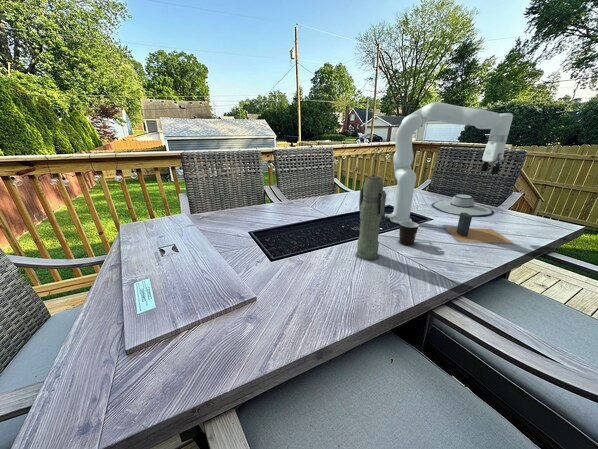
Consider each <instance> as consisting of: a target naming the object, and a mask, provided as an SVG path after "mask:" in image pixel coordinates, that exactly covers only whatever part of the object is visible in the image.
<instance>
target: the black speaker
mask: <svg viewBox="0 0 598 449" xmlns="http://www.w3.org/2000/svg"><path fill="white" fill-rule="evenodd" d="M472 218H473V216H471V215H469V214H468V213H460V215H459V217H458V222H457V227H456V228H457V231H456V232H457V233H458V234H459V235H461V236H468V232H469V228H471V223H472Z"/></svg>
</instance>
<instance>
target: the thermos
mask: <svg viewBox="0 0 598 449" xmlns="http://www.w3.org/2000/svg"><path fill="white" fill-rule="evenodd" d="M386 201H387V192H386V190H384V182H383V178H382V177H380V176H376V175H372V176H367V177H366V178H365V180H364V183H363V186H361V188H360V189H359V202H358V207H359V208H358V209H359V219H360V223H359V224H360V225H359V236H358V239H357V246H356V247H357V248H356V251H357V252H356V254H357V257H358V258H360V259H362V260H366V261H370V260H371V261H373V260H375V259H377V257H378V253H379V246H380V243H379V233H380V223H381V221H382V218H383V217H382V216H384V215H385V208H386Z"/></svg>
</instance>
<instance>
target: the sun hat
mask: <svg viewBox="0 0 598 449" xmlns="http://www.w3.org/2000/svg"><path fill="white" fill-rule="evenodd" d="M431 206H432V207H433V208H435V209H436V210H438V211H440V212H443V213H445V214H450V215H454V216H460V213H468V214H469V215H471V216H472V217H483V216H490V215H493V214H494V210H493V209H491V208H489V207H486V206H483V205H481V204H478V203H477V202H476V203H475V199H474V197H473V196H472V195H469V194H461V193H460V194H458V193H457V194H455V195H453V197H452V199H443V200H437V201H434V202H433V203H432V204H431Z"/></svg>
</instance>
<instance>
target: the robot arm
mask: <svg viewBox="0 0 598 449" xmlns="http://www.w3.org/2000/svg"><path fill="white" fill-rule="evenodd" d="M513 119H514V114H513V113H511V112H504V113H502V112H501V113H498V112H495V111H491V110H486V109H480V108H474V107H467V106H462V105H461V106H460V105H455V104H451V103H450V104H449V103H447V102H446V103H445V102H440V101H433V102H429V103H427V104H425V105H424V106H423V107H422V106H421V107H420V108H419V109H417V110H415V111H413V112H412V113H411V114H408V115H406V116H405V117H404V118H403V119H402V121H401V123H400V125H399V127H398V128H397V131H396V133H395V138H394V139H395V140H394V141H395V142H394V143H395V152H394V154H393V158H392V159H393V170H394V177H395V179H396V181H397V182H396V183H397V184H396V189H395V194H394V195H395V196H394V202H393V204H394V205H393V211H392V212H391V213H384V217H385V218H387V219H389V221H390V222H391V223H394V224H398V225H400V222H402V221H411V222H413V219H412V218H411V212H412V211H411V210H412V204H413V196H414V191H415V187H416V183H417V174H416V172H415V171H414V170H413V169H412V163H413V162H414V152H413V151H414V150H413V136H414V134H415V132H416V131H417V130H419V129H420V128H421V127H422V125H424V124H426V123H428V122H429V121H436V122H442V123H446V124H451V125H456V126H457V125H458V126H474V127H475V129H478V130H490V132H489V137H488V141H487V143H486V145H485V149H484V152H483V155H482V158H481V160H482V162H481V168H480V172H488V170H489V167H490V163H492V164H493V166H492V168H491V171H490V174H491V175H498V174H499V172H500V168H501V166H502V165H503V162H504V161H505V157H504V154H505V151H506V150H505V149H506V143H507V141H508V138H509V137H508V136H509V133H510V130H511V125H512V122H513Z"/></svg>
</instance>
